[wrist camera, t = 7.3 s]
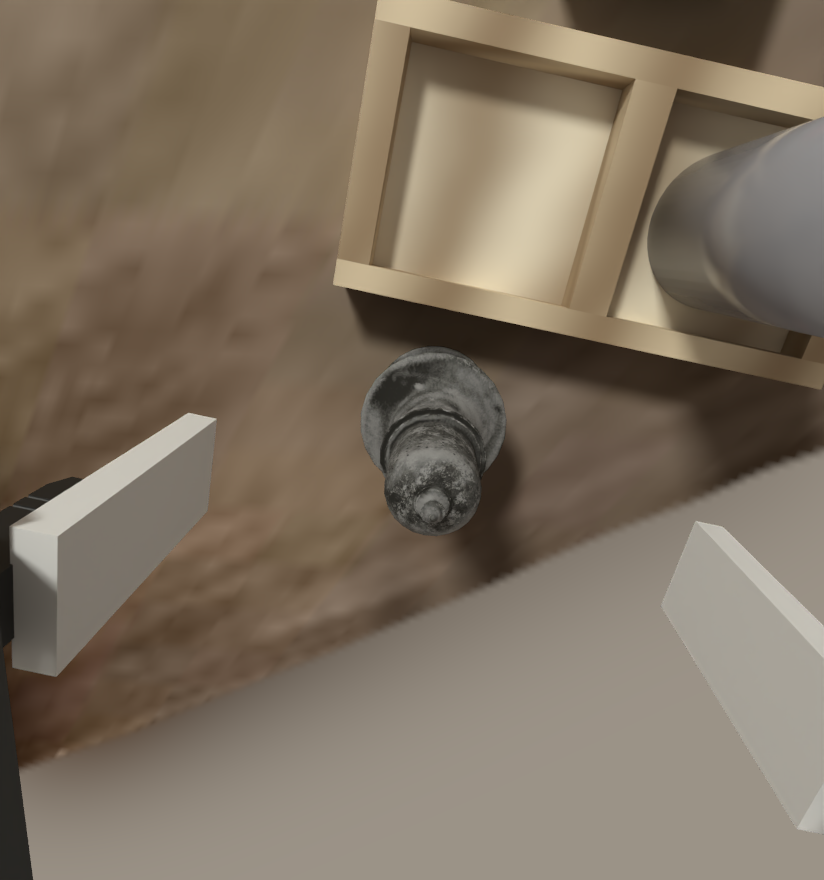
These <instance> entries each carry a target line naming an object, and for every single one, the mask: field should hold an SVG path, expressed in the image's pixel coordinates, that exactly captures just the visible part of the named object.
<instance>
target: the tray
mask: <svg viewBox="0 0 824 880" xmlns="http://www.w3.org/2000/svg"><path fill="white" fill-rule="evenodd" d="M821 117H824V87H820V86H816V85H811V84H807V83H803V82H798V81H794V80H790V79H786V78H781V77H777V76H773V75H768V74H764V73H760V72H755V71H751V70H747V69H742V68H738V67H734V66H729V65H725V64H721V63H717V62H712V61H708V60H704V59H699V58H695V57H691V56H686V55H682V54H678V53H673V52H669V51H665V50H660V49H656V48H652V47H648V46H643V45H639V44H635V43H630V42H626V41H622V40H617V39H613V38H609V37H604V36H600V35H596V34H591V33H587V32H583V31H579V30H574V29H570V28H566V27H561V26H557V25H553V24H548V23H544V22H540V21H535V20H531V19H527V18H522V17H518V16H514V15H510V14H505V13H501V12H497V11H492V10H488V9H484V8H479V7H475V6H471V5H466V4H462V3H458V2H453V1H449V0H378V2H377V8H376V14H375V21H374V27H373V34H372V40H371V46H370V53H369V59H368V65H367V72H366V78H365V84H364V91H363V97H362V104H361V110H360V116H359V123H358V129H357V135H356V142H355V148H354V155H353V161H352V167H351V174H350V180H349V186H348V193H347V199H346V205H345V212H344V218H343V225H342V231H341V237H340V244H339V250H338V256H337V263H336V269H335V276H334V282H333V285H337V286H341V287H346V288H351V289H355V290H360V291H365V292H369V293H374V294H379V295H383V296H388V297H392V298H397V299H402V300H406V301H411V302H416V303H420V304H425V305H430V306H434V307H439V308H444V309H448V310H453V311H457V312H462V313H467V314H471V315H476V316H481V317H485V318H490V319H495V320H499V321H504V322H509V323H513V324H518V325H522V326H527V327H532V328H536V329H541V330H546V331H550V332H555V333H560V334H564V335H569V336H574V337H578V338H583V339H587V340H592V341H597V342H601V343H606V344H611V345H615V346H620V347H625V348H629V349H634V350H639V351H643V352H648V353H652V354H657V355H662V356H666V357H671V358H676V359H680V360H685V361H690V362H694V363H699V364H704V365H708V366H713V367H717V368H722V369H727V370H731V371H736V372H741V373H745V374H750V375H755V376H759V377H764V378H769V379H773V380H778V381H783V382H787V383H792V384H796V385H801V386H806V387H810V388H815V389H820V390H821V389H822V387H823V384H824V338H821V337H817V336H813V335H808V334H804V333H799V332H795V331H791V330H786V329H782V328H778V327H773V326H769V325H764V324H760V323H756V322H751V321H747V320H743V319H738V318H734V317H730V316H725V315H721V314H716V313H712V312H708V311H703V310H699V309H695V308H692V307H688V306H686V305H684V304H682V303H680V302H678V301H677V300H675V299H673V298H672V297H671V296H670V295H669V294H668V293H666V292H665V291H664V289H663V288H662V287H661V286H660V284H659V283H658V281H657V280H656V278H655V276H654V274H653V271H652V269H651V266H650V262H649V258H648V251H647V237H648V229H649V224H650V221H651V217H652V214H653V212H654V209H655V207H656V205H657V203H658V201H659V199H660V197H661V196H662V194H663V193H664V191H665V190H666V188H667V187H668V186H669V185H670V183H671V182H672V181H673V180H674V179H675V178H676V177H677V176H678V175H679V174H680V173H681V172H682V171H684V170H685V169H686V168H688V167H689V166H690V165H692V164H693V163H695V162H697V161H699V160H700V159H702V158H705V157H707V156H710V155H712V154H715V153H718V152H721V151H724V150H727V149H730V148H733V147H735V146H738V145H741V144H744V143H747V142H750V141H753V140H756V139H759V138H762V137H765V136H768V135H771V134H774V133H777V132H780V131H783V130H786V129H789V128H791V127H794V126H797V125H800V124H803V123H806V122H809V121H812V120H815V119H818V118H821Z"/></svg>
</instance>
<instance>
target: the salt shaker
mask: <svg viewBox="0 0 824 880" xmlns="http://www.w3.org/2000/svg"><path fill="white" fill-rule="evenodd" d="M505 430H506V415H505V409H504V404H503V400H502V398H501V396H500V394H499V392H498V390H497V388H496V386H495V384H494V383H493V382H492V381H491V380H490V378H489V377H488V376H487V375H486V374H485V373H484V372H483V371H482V370H481V369H480V368H478V366H477V365H476V364H475V363H474V362H473V361H472V360H471V359H470V358H468V357H467V356H465V355H463V354H462V353H460V352H459V351H456V350H453V349H450V348H446V347H439V346H426V347H422V348H417V349H413V350H411V351H409V352H407V353H405V354H403V355H401V356H400V357H399V358H398V359H396V360H395V361H394V362H393V363H392V364H391V365H390V366H389V367H388V368H387V369H386V370H385V371H384V372H383V373H382V374H381V375H380V376H379V377H378V378H377V379H376V380H375V382H374V383H373V385H372V387H371V388H370V390H369V391H368V393H367V395H366V398H365V401H364V405H363V408H362V411H361V433H362V437H363V441H364V445H365V448H366V450H367V452H368V454H369V455H370V457H371V459H372V461H373V462H374V464H375V465H376V466H377V467H378V468H379V469H380V470H381V471H382V472H383V475H384V477H385V489H384V494H385V498H386V501H387V505H388V508H389V510H390V511H391V513H392V515H393V516H394V518H395V519H396V520H397V521H398V522H399V523H400V524H401V525H402V526H404V527H406V528H407V529H409V530H411V531H413V532H416V533H419V534H422V535H431V536H438V535H444V534H449V533H451V532H454V531H456V530H458V529H460V528H461V527H463V526H464V525H465V524H466V523H468V522H469V521H470V519H471V518H472V517H473V515H474V514H475V512H476V510H477V507H478V505H479V502H480V499H481V483H480V480H481V478H482V475H483V473H484V472H485V471H487V470H488V468H489V467H490V466H491V464H492V463H493V461H494V460H495V459H496V457H497V456H498V454H499V452H500V449H501V446H502V444H503V441H504V439H505Z"/></svg>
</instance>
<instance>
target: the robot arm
mask: <svg viewBox="0 0 824 880" xmlns="http://www.w3.org/2000/svg"><path fill="white" fill-rule="evenodd" d="M216 422H217V419H215V418H210V417H205V416H201V415H196V414H191V413H188V414H186V415H184V416H183V417H181V418H180V419H178V420H177V421H175V422H173V423H172V424H170V425H169V426H167V427H165V428H164V429H162V430H161V431H159V432H158V433H156V434H154V435H153V436H151V437H150V438H148V439H146V440H145V441H143V442H142V443H140V444H139V445H137V446H135V447H134V448H132V449H131V450H129V451H128V452H126V453H124V454H123V455H121V456H120V457H118V458H116V459H115V460H113V461H112V462H110V463H109V464H107V465H105V466H104V467H102V468H101V469H99V470H98V471H96V472H94V473H93V474H91V475H90V476H88V477H86V478H85V479H80V478H75V477H70V478H67V479H63V480H60V481H56V482H53V483H49V484H46V485H45V486H43V487H41V488H40V489H38V490H36V491H35V492H33V493H31V494H29V496H28V497H24V498H23V499H21V500H19V501H18V502H16V503H14V505H13V507H12V506H9V507H7V508H6V509H4V510H2V511H1V512H0V880H33V876H32V868H31V861H30V854H29V845H28V837H27V831H26V822H25V815H24V807H23V799H22V793H21V792H22V791H21V784H20V776H19V768H18V761H17V753H16V745H15V738H14V730H13V722H12V715H11V707H10V699H9V692H8V684H7V676H6V669H5V661H4V653H3V647H4V646H5V645H7V644H8V643H9V642H10V641H11V640H12V668H16V669H21V670H26V671H31V672H35V673H40V674H45V675H50V676H55V677H57V676H58V675H59V673H60V672H61V671H62V670H63V669H64V668H65V667H66V666H67V665H68V664H69V662H70V661H71V660H72V659H73V658H74V657H75V656H76V655H77V654H78V653H79V651H80V650H81V649H82V648H83V647H84V646H85V645H86V644H87V643H88V642H89V640H90V639H91V638H92V637H93V636H94V635H95V634H96V633H97V632H98V631H99V629H100V628H101V627H102V626H103V625H104V624H105V623H106V622H107V621H108V620H109V618H110V617H111V616H112V615H113V614H114V613H115V612H116V611H117V610H118V609H119V608H120V606H121V605H122V604H123V603H124V602H125V601H126V600H127V599H128V598H129V597H130V595H131V594H132V593H133V592H134V591H135V590H136V589H137V588H138V587H139V586H140V584H141V583H142V582H143V581H144V580H145V579H146V578H147V577H148V576H149V575H150V573H151V572H152V571H153V570H154V569H155V568H156V567H157V566H158V565H159V564H160V562H161V561H162V560H163V559H164V558H165V557H166V556H167V555H168V554H169V553H170V551H171V550H172V549H173V548H174V547H175V546H176V545H177V544H178V543H179V542H180V541H181V539H182V538H183V537H184V536H185V535H186V534H187V533H188V532H189V531H190V530H191V528H192V527H193V526H194V525H195V524H196V523H197V522H198V521H199V520H200V519H201V517H202V516H203V515H204V514H205V513H206V512H207V511H208V501H209V491H210V481H211V471H212V461H213V451H214V441H215V432H216ZM661 608H662V609H663V611H664V613H665V614H666V616H667V617H668V619H669V621H670V622H671V624H672V626H673V627H674V629H675V631H676V632H677V634H678V635H679V637H680V639H681V640H682V642H683V643H684V645H685V647H686V649H687V650H688V652H689V653H690V655H691V657H692V658H693V660H694V662H695V663H696V665H697V666H698V668H699V670H700V671H701V673H702V675H703V676H704V678H705V680H706V681H707V683H708V684H709V686H710V688H711V689H712V691H713V693H714V694H715V696H716V698H717V699H718V701H719V703H720V704H721V706H722V707H723V709H724V711H725V712H726V714H727V716H728V717H729V719H730V720H731V722H732V724H733V725H734V727H735V729H736V730H737V732H738V734H739V735H740V737H741V739H742V740H743V742H744V743H745V745H746V747H747V748H748V750H749V751H750V753H751V755H752V757H753V758H754V760H755V762H756V763H757V765H758V766H759V768H760V770H761V771H762V773H763V774H764V776H765V778H766V779H767V781H768V783H769V784H770V786H771V788H772V789H773V791H774V793H775V794H776V796H777V797H778V799H779V801H780V802H781V804H782V806H783V807H784V809H785V811H786V812H787V814H788V816H789V817H790V819H791V820H792V822H793V824H794V825H795V827H796V829H800V830H804V831H810V832H814V833H819V834H824V626H823V625H822V624H821V623H820V622H819V621H818V620H817V619H816V618H815V617H814V616H813V615H812V614H811V613H810V612H809V611H808V610H807V609H806V608H805V607H804V606H803V605H802V604H801V603H800V602H799V601H798V600H797V599H796V598H795V597H794V596H793V595H792V594H791V593H789V591H788V590H787V589H786V588H785V587H784V586H782V585H781V584H780V582H778V581H777V580H776V579H775V578H774V577H773V576H772V575H771V574H770V573H769V572H768V571H767V570H766V569H765V568H764V567H763V566H762V565H761V564H760V563H759V562H758V561H757V560H756V559H755V558H754V557H753V556H752V555H751V554H750V553H749V552H748V551H747V550H746V549H745V548H744V547H743V546H742V545H741V544H740V543H739V542H738V541H737V540H736V539H735V538H734V537H733V536H732V535H731V534H730V533H729V532H728V531H726V529H725V528H724V527H722V526H717V525H713V524H708V523H703V522H699V521H695V523H694V526H693V528H692V530H691V533H690V535H689V538H688V540H687V543H686V545H685V548H684V550H683V553H682V555H681V558H680V560H679V563H678V565H677V568H676V570H675V572H674V575H673V578H672V580H671V582H670V585H669V587H668V590H667V592H666V594H665V597H664V599H663V602H662V604H661Z"/></svg>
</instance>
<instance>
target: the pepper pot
mask: <svg viewBox="0 0 824 880" xmlns="http://www.w3.org/2000/svg"><path fill="white" fill-rule="evenodd" d="M647 251H648V258H649V262H650V266H651V269H652V271H653V274H654V276H655V278H656V280H657V281H658V283H659V284H660V286H661V287H662V288H663V289H664V291H665V292H666V293H668V294H669V295H670V296H671V297H672V298H673V299H675V300H677V301H678V302H680V303H682V304H684V305H686V306H688V307H692V308H695V309H699V310H703V311H708V312H712V313H716V314H721V315H725V316H730V317H734V318H738V319H743V320H747V321H751V322H756V323H760V324H764V325H769V326H773V327H778V328H782V329H786V330H791V331H795V332H799V333H804V334H808V335H813V336H817V337H821V338H824V117H821V118H818V119H815V120H812V121H809V122H806V123H803V124H800V125H797V126H794V127H791V128H789V129H786V130H783V131H780V132H777V133H774V134H771V135H768V136H765V137H762V138H759V139H756V140H753V141H750V142H747V143H744V144H741V145H738V146H735V147H733V148H730V149H727V150H724V151H721V152H718V153H715V154H712V155H710V156H707V157H705V158H702V159H700V160H699V161H697V162H695V163H693V164H692V165H690V166H689V167H688V168H686V169H685V170H684V171H682V172H681V173H680V174H679V175H678V176H677V177H676V178H675V179H674V180H673V181H672V182H671V183H670V185H669V186H668V187H667V188H666V190H665V191H664V193H663V194H662V196H661V197H660V199H659V201H658V203H657V205H656V207H655V209H654V212H653V214H652V217H651V221H650V224H649V229H648V237H647Z"/></svg>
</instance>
